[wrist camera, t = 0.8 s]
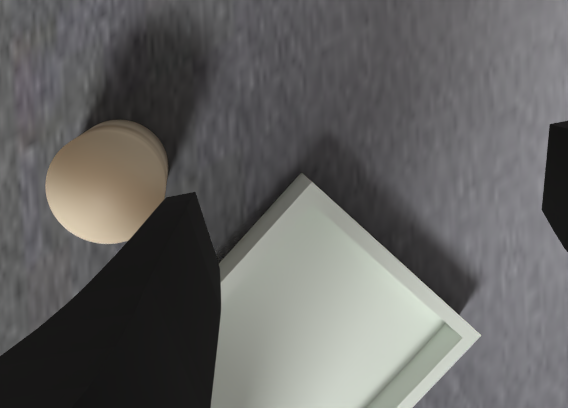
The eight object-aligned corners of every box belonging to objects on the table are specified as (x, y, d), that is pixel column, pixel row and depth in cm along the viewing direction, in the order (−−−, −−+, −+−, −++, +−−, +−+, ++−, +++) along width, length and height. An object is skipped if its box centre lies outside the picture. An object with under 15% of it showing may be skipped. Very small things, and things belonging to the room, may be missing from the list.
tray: (267, 518, 33) (273, 552, 31) (88, 408, 29) (79, 438, 27) (459, 315, 32) (481, 335, 30) (301, 172, 28) (312, 181, 26)
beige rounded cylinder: (128, 227, 27) (115, 265, 22) (53, 170, 26) (20, 195, 21) (187, 161, 27) (188, 183, 22) (113, 99, 26) (96, 107, 21)
